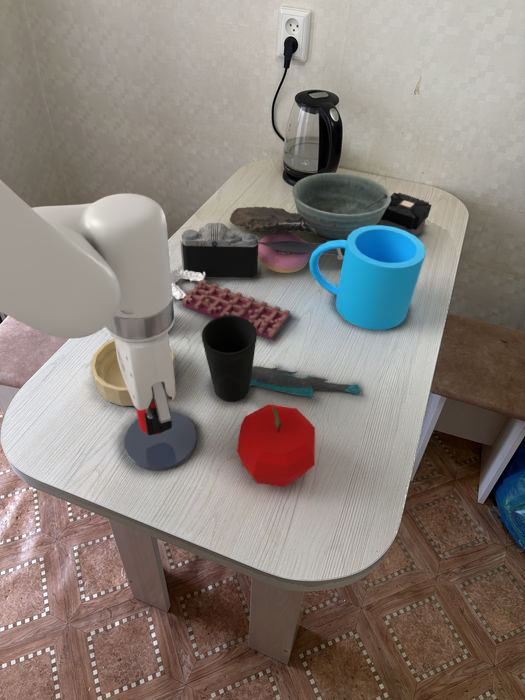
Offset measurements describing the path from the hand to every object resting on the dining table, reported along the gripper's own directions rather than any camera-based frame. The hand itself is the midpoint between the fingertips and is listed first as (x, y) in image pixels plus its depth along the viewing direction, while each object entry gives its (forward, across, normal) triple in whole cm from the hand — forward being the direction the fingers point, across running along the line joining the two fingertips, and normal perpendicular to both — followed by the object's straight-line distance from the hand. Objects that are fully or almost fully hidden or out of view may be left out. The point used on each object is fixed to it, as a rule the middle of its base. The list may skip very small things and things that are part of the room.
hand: (154, 416), depth 67 cm
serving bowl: (+6, -13, 0) cm, 14 cm away
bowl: (+5, -39, +53) cm, 66 cm away
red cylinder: (+1, 0, 0) cm, 1 cm away
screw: (-5, -32, +56) cm, 65 cm away
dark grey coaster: (+6, 0, 0) cm, 6 cm away
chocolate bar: (+5, -22, +21) cm, 31 cm away
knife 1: (+2, -26, +43) cm, 51 cm away
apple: (+6, +10, +14) cm, 18 cm away
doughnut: (+5, -34, +37) cm, 50 cm away
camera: (+5, -35, +24) cm, 43 cm away
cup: (+5, -5, +14) cm, 15 cm away
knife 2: (+5, -3, +22) cm, 22 cm away
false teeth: (+6, -33, +15) cm, 37 cm away
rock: (-1, -37, +44) cm, 57 cm away
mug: (+5, -16, +44) cm, 47 cm away
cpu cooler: (+2, -40, +66) cm, 78 cm away
